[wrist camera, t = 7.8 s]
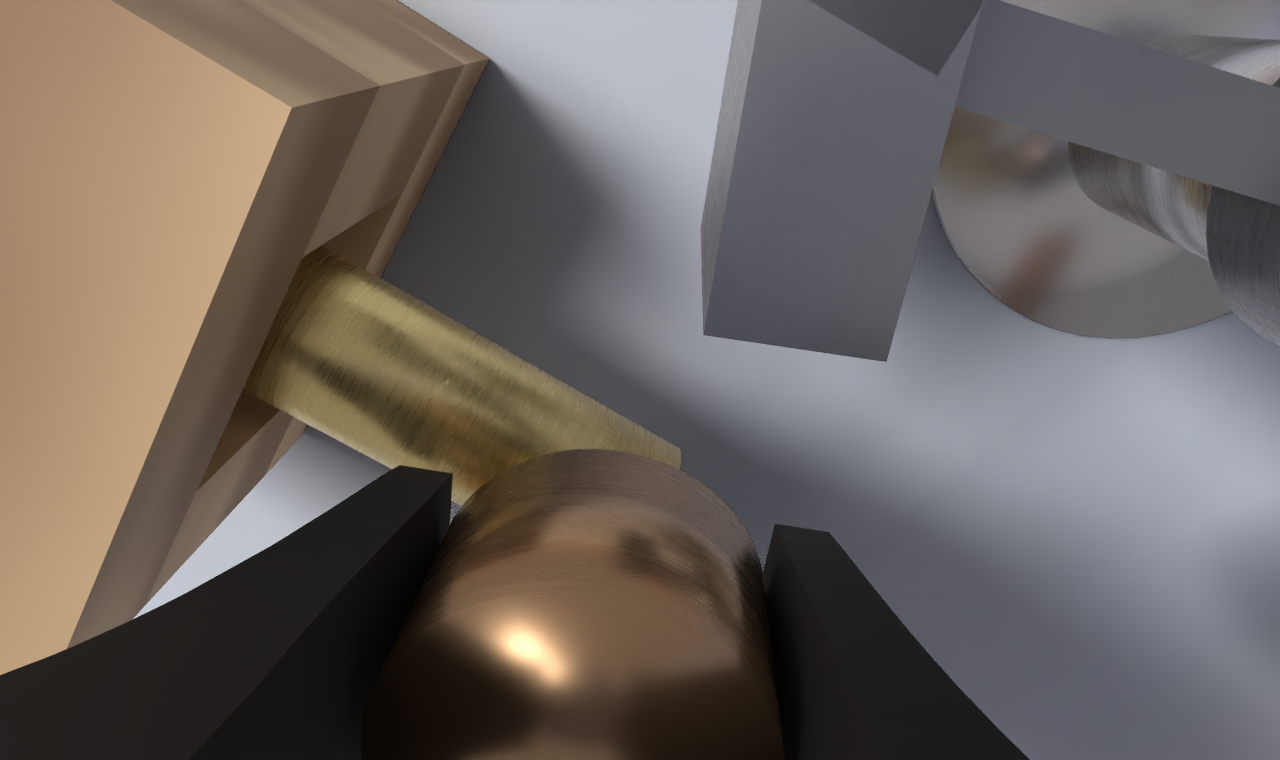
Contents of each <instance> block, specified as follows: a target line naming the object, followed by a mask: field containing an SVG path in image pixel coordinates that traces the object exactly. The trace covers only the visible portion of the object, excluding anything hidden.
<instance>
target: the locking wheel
mask: <svg viewBox="0 0 1280 760" xmlns="http://www.w3.org/2000/svg"><path fill="white" fill-rule="evenodd" d="M954 107H957V108H961V109H964V110H967V111H971V112H974V113H977V114H980V115H984V116H987V117H990V118H993V119H997V120H1000V121H1003V122H1007V123H1010V124H1013V125H1016V126H1020V127H1023V128H1026V129H1030V130H1033V131H1036V132H1039V133H1043V134H1046V135H1049V136H1053V137H1056V138H1059V139H1062V140H1066V141H1069V142H1072V143H1075V144H1079V145H1082V146H1085V147H1089V148H1092V149H1095V150H1098V151H1102V152H1105V153H1108V154H1112V155H1115V156H1118V157H1121V158H1125V159H1128V160H1131V161H1135V162H1138V163H1141V164H1144V165H1148V166H1151V167H1154V168H1157V169H1161V170H1164V171H1167V172H1171V173H1174V174H1177V175H1180V176H1184V177H1187V178H1190V179H1194V180H1197V181H1200V182H1203V183H1207V184H1210V185H1213V187H1212V190H1211V195H1210V200H1209V205H1208V211H1207V224H1206V241H1207V252H1208V258H1209V262H1210V266H1211V270H1212V274H1213V277H1214V279H1215V282H1216V284H1217V286H1218V288H1219V291H1220V293H1221V295H1222V296H1223V298H1224V299H1225V301H1226V302H1227V304H1228V305H1229V307H1230V308H1231V310H1232V311H1233V312H1234V313H1235V314H1236V315H1237V316H1238V317H1239V318H1240V319H1241V320H1242V322H1243V323H1244V324H1246V325H1247V326H1248V327H1250V328H1251V329H1252V330H1253V331H1255V332H1256V333H1257V334H1259V335H1260V336H1262V337H1264V338H1265V339H1267V340H1269V341H1270V342H1272V343H1274V344H1276V345H1277V346H1279V347H1280V78H1279V79H1278V80H1277V81H1276V82H1275V83H1274V84H1273V85H1269V84H1265V83H1262V82H1259V81H1256V80H1253V79H1249V78H1246V77H1243V76H1240V75H1237V74H1233V73H1230V72H1227V71H1224V70H1221V69H1217V68H1214V67H1211V66H1208V65H1205V64H1202V63H1198V62H1195V61H1192V60H1189V59H1186V58H1182V57H1179V56H1176V55H1173V54H1170V53H1166V52H1163V51H1160V50H1157V49H1154V48H1150V47H1147V46H1144V45H1141V44H1138V43H1134V42H1131V41H1128V40H1125V39H1122V38H1118V37H1115V36H1112V35H1109V34H1106V33H1102V32H1099V31H1096V30H1093V29H1090V28H1086V27H1083V26H1080V25H1077V24H1074V23H1070V22H1067V21H1064V20H1061V19H1058V18H1054V17H1051V16H1048V15H1045V14H1042V13H1038V12H1035V11H1032V10H1029V9H1026V8H1023V7H1019V6H1016V5H1013V4H1010V3H1007V2H1003V1H1000V0H738V5H737V11H736V17H735V23H734V29H733V35H732V41H731V47H730V53H729V59H728V65H727V72H726V78H725V84H724V90H723V96H722V102H721V108H720V114H719V120H718V126H717V132H716V139H715V145H714V151H713V157H712V163H711V169H710V175H709V181H708V187H707V193H706V199H705V206H704V212H703V218H702V224H701V253H702V295H703V335H707V336H714V337H721V338H728V339H735V340H742V341H748V342H755V343H762V344H769V345H776V346H783V347H789V348H796V349H803V350H810V351H817V352H823V353H830V354H837V355H844V356H851V357H858V358H864V359H871V360H878V361H885V362H886V361H887V357H888V354H889V350H890V346H891V342H892V339H893V335H894V331H895V328H896V324H897V320H898V316H899V313H900V309H901V305H902V301H903V298H904V294H905V290H906V286H907V283H908V279H909V275H910V271H911V268H912V264H913V260H914V257H915V253H916V249H917V245H918V242H919V238H920V234H921V230H922V227H923V223H924V219H925V215H926V212H927V208H928V204H929V201H930V197H931V193H932V189H933V186H934V182H935V178H936V174H937V171H938V167H939V163H940V159H941V156H942V152H943V148H944V145H945V141H946V137H947V133H948V130H949V126H950V122H951V118H952V115H953V111H954Z"/></svg>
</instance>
